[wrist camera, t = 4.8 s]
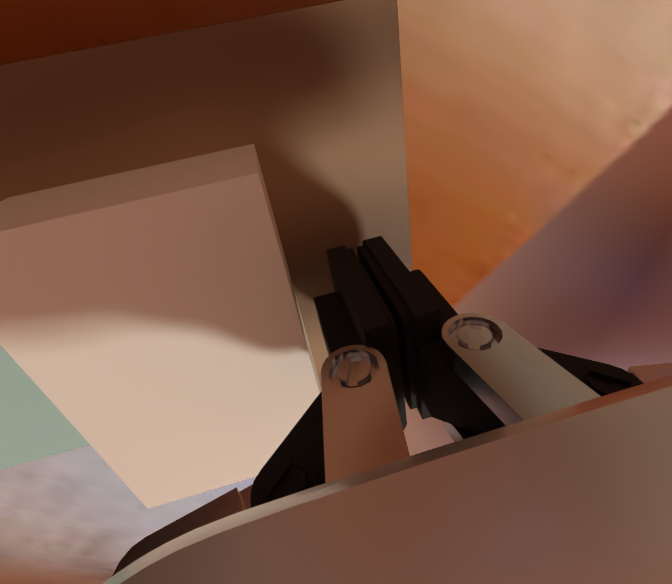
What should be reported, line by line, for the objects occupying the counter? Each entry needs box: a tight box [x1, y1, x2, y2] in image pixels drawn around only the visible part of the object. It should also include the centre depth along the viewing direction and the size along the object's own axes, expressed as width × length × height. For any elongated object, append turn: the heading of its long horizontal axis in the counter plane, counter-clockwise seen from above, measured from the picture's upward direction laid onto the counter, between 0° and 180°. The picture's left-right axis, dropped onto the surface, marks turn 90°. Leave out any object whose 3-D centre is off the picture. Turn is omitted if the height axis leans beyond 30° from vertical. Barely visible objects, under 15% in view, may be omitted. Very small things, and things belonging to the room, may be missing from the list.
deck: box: [0, 0, 412, 402], centre depth 13 cm, size 14×12×4 cm
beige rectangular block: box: [0, 144, 322, 509], centre depth 10 cm, size 9×6×3 cm, turn 10°
